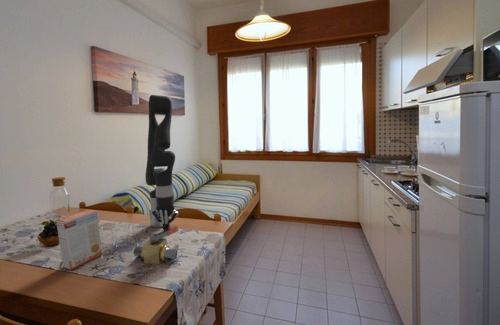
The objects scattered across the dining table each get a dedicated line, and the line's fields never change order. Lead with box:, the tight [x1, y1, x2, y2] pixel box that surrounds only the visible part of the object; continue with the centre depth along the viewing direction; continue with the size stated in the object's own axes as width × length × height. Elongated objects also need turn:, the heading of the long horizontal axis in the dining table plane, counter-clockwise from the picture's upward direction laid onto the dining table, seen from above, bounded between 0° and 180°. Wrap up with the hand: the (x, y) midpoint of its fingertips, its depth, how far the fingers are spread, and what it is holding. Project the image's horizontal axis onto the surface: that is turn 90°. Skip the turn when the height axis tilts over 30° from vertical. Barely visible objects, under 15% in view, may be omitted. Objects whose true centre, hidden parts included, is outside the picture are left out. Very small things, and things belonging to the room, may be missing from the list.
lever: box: [149, 225, 179, 243], centre depth 118 cm, size 14×4×2 cm, turn 150°
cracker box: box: [56, 209, 103, 271], centre depth 113 cm, size 14×6×21 cm, turn 153°
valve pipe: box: [133, 237, 178, 265], centre depth 114 cm, size 18×7×8 cm, turn 80°
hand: (166, 230), depth 123 cm, fingers closed
